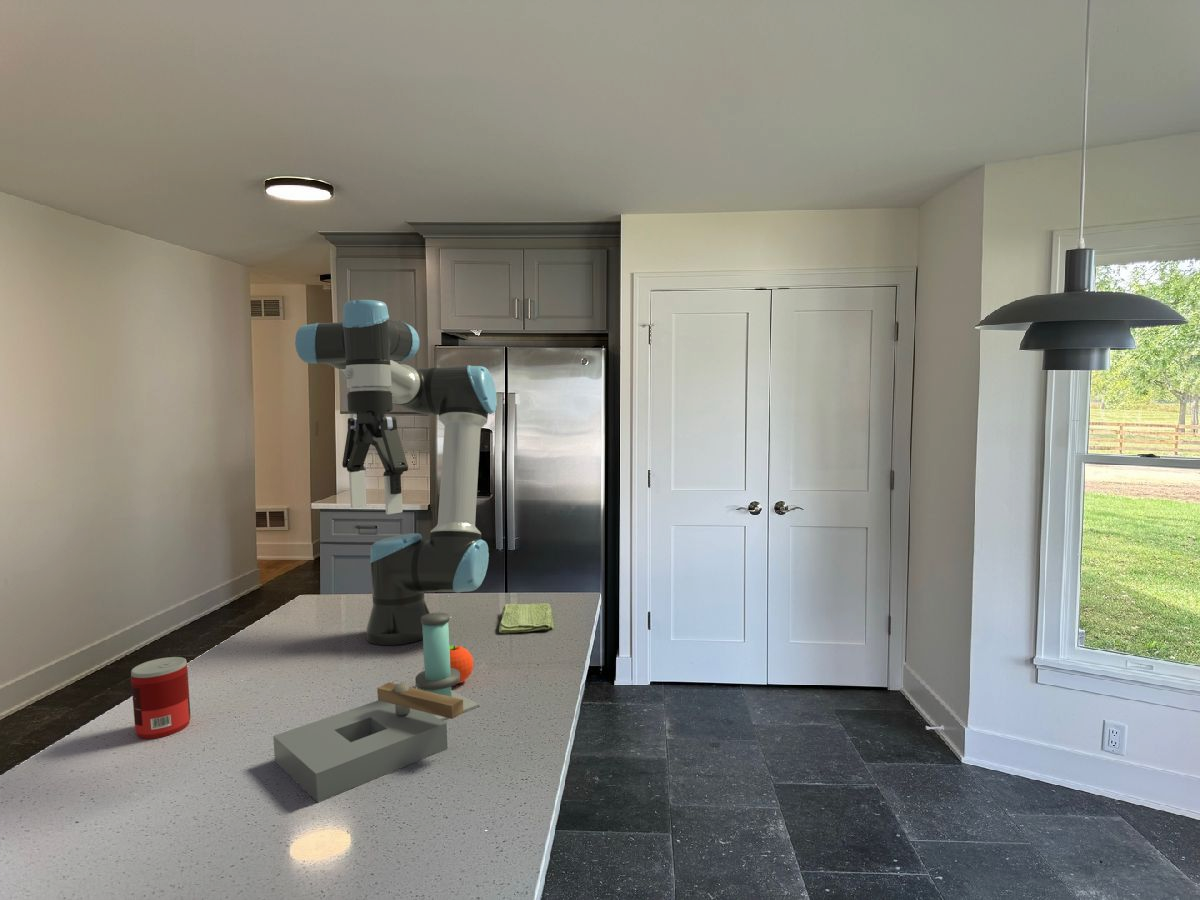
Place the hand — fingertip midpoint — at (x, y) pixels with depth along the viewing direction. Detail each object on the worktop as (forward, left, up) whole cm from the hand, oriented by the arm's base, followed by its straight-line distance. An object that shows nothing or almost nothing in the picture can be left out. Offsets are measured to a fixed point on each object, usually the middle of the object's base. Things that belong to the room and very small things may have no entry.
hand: (375, 510), depth 123 cm
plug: (+10, +5, -34) cm, 36 cm away
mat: (+10, +5, -35) cm, 36 cm away
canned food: (-18, -31, -35) cm, 50 cm away
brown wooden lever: (+20, -4, -30) cm, 36 cm away
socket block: (+16, -12, -35) cm, 40 cm away
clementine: (+2, +13, -35) cm, 37 cm away
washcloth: (-17, +46, -35) cm, 60 cm away
